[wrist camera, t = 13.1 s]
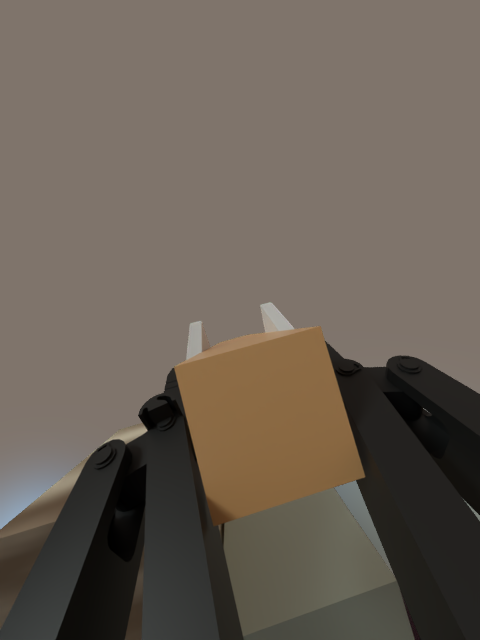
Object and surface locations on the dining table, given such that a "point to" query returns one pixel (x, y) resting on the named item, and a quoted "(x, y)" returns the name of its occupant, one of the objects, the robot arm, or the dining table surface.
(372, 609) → the sage green pillar
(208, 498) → the orange bar
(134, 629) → the tall stand
